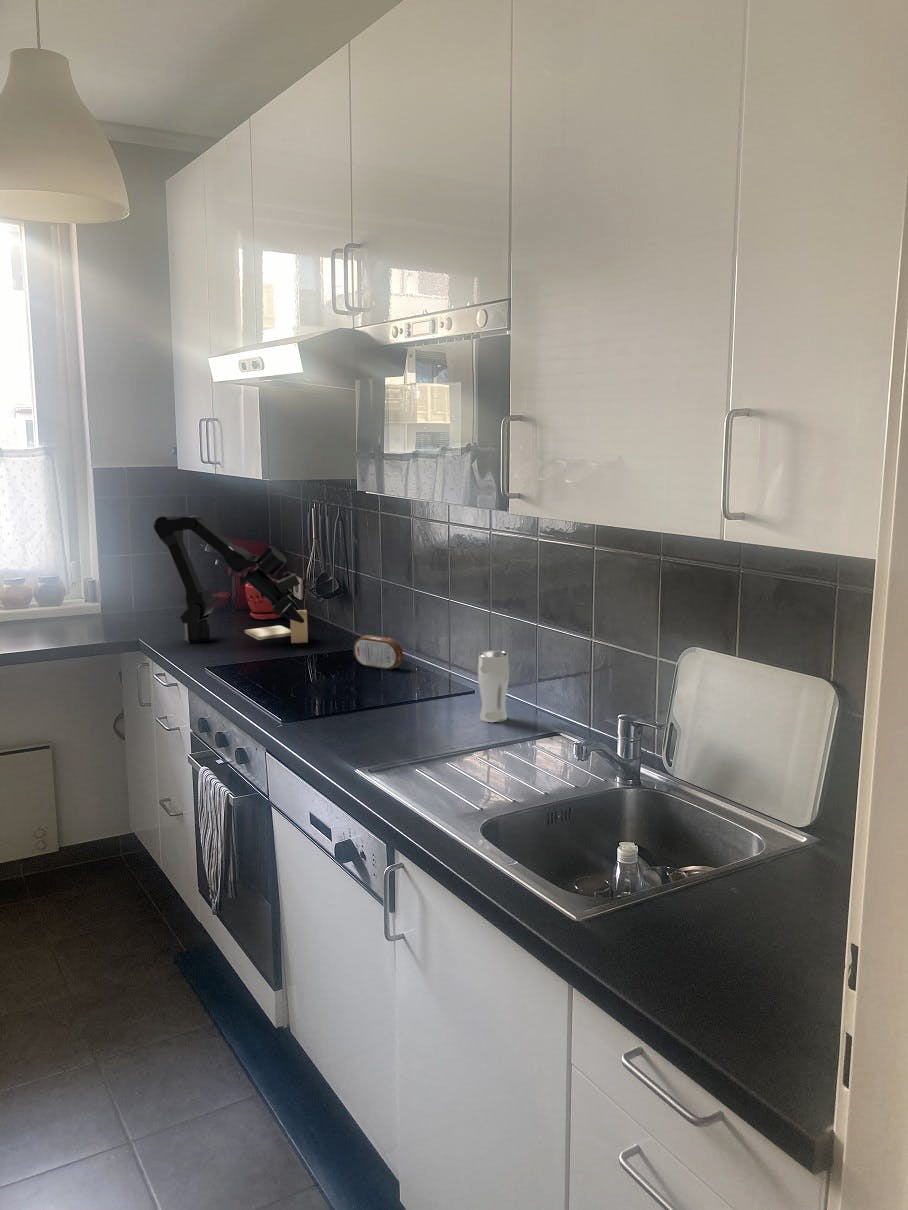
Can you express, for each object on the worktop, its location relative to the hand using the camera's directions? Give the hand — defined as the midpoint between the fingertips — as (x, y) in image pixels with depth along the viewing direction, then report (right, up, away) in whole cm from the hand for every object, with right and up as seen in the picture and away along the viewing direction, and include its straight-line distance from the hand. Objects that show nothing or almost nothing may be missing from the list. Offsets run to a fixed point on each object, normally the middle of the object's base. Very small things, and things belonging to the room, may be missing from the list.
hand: (303, 619), depth 300 cm
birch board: (-12, -5, +11) cm, 17 cm away
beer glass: (+54, -21, -78) cm, 98 cm away
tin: (+25, -13, -31) cm, 42 cm away
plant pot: (-18, 0, +37) cm, 41 cm away
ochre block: (-1, -7, +1) cm, 7 cm away
